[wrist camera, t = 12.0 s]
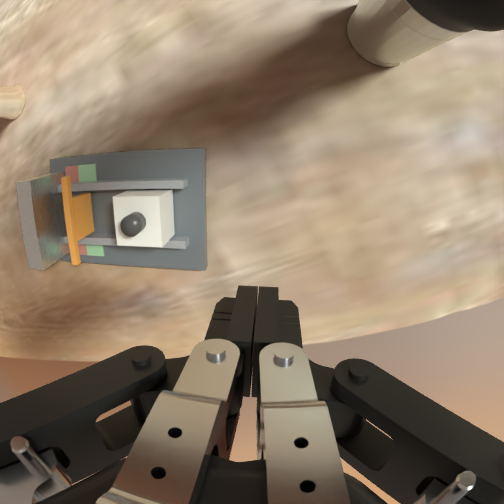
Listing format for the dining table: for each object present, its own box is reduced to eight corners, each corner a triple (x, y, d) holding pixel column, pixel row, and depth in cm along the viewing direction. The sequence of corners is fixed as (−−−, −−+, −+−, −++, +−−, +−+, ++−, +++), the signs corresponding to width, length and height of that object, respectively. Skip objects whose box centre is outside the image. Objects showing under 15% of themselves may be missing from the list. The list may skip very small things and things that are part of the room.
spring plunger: (130, 189, 38) (104, 200, 32) (172, 188, 38) (152, 199, 31) (133, 233, 40) (109, 251, 34) (174, 234, 40) (156, 253, 34)
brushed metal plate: (50, 172, 38) (15, 182, 31) (65, 171, 38) (30, 180, 31) (59, 248, 43) (29, 268, 35) (73, 249, 42) (43, 270, 35)
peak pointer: (83, 171, 38) (61, 177, 33) (89, 170, 38) (66, 176, 32) (91, 250, 42) (72, 264, 37) (97, 251, 42) (77, 265, 37)
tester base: (55, 158, 39) (41, 161, 36) (205, 147, 38) (199, 149, 34) (66, 257, 45) (55, 265, 41) (207, 266, 43) (202, 276, 40)
